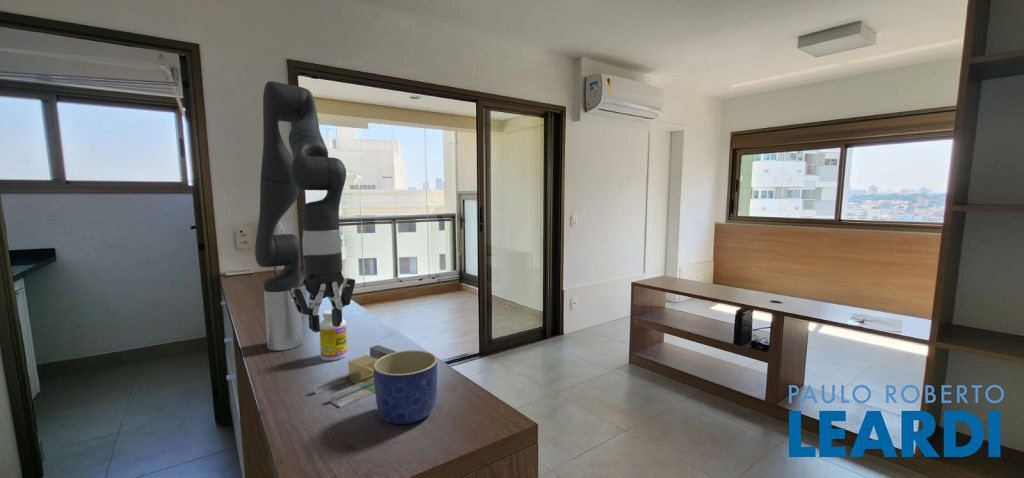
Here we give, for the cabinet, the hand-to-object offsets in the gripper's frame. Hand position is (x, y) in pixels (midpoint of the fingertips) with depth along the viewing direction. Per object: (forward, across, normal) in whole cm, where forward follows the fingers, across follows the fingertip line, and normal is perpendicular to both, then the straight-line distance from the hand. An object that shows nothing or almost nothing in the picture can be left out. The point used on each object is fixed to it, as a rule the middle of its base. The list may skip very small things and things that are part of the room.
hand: (326, 328), depth 87 cm
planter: (+15, -6, +20) cm, 26 cm away
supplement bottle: (+15, -12, -20) cm, 28 cm away
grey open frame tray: (+15, -7, +2) cm, 17 cm away
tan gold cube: (+15, -9, +2) cm, 18 cm away
